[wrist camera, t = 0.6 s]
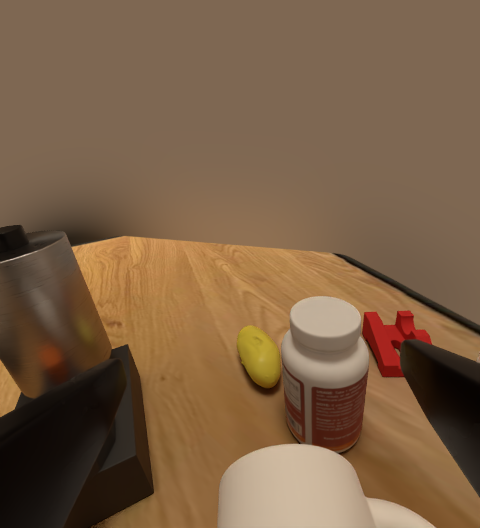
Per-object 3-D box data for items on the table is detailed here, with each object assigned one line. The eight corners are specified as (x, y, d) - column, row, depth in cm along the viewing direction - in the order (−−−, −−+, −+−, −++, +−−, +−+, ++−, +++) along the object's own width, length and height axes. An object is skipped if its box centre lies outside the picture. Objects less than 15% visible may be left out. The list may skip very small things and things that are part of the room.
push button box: (155, 504, 19) (128, 448, 16) (3, 587, 16) (-61, 537, 13) (139, 376, 30) (122, 329, 27) (47, 412, 27) (17, 364, 24)
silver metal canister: (111, 376, 22) (49, 231, 16) (8, 414, 19) (-103, 261, 14) (112, 327, 28) (66, 210, 22) (32, 353, 25) (-39, 229, 20)
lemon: (249, 401, 25) (245, 372, 24) (234, 345, 33) (230, 319, 31) (291, 391, 26) (290, 361, 24) (268, 337, 33) (265, 311, 31)
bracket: (362, 332, 32) (364, 312, 31) (405, 332, 31) (409, 310, 30) (382, 376, 26) (386, 353, 25) (436, 376, 26) (442, 352, 24)
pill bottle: (367, 405, 24) (381, 300, 19) (351, 474, 19) (365, 358, 15) (300, 379, 27) (298, 284, 22) (273, 433, 23) (263, 328, 18)
